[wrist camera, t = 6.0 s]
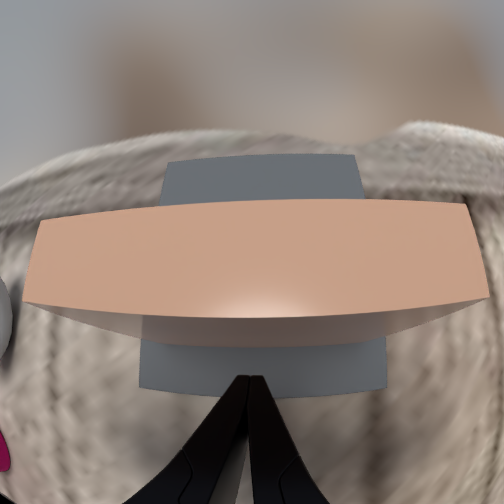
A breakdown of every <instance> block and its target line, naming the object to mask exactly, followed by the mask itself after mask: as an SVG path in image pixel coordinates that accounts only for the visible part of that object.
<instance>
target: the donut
mask: <svg viewBox="0 0 504 504" xmlns="http://www.w3.org/2000/svg"><path fill="white" fill-rule="evenodd" d="M12 317H13V315H12V309H11V301H10V297H9V295H8V292H7V289H6V286H5V283H4V282H3V280H2V279H1V277H0V359H1V358H2V356H3V354H4V352H5V350H6V349H7V347H8V344H9V340H10V336H11V332H12Z"/></svg>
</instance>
